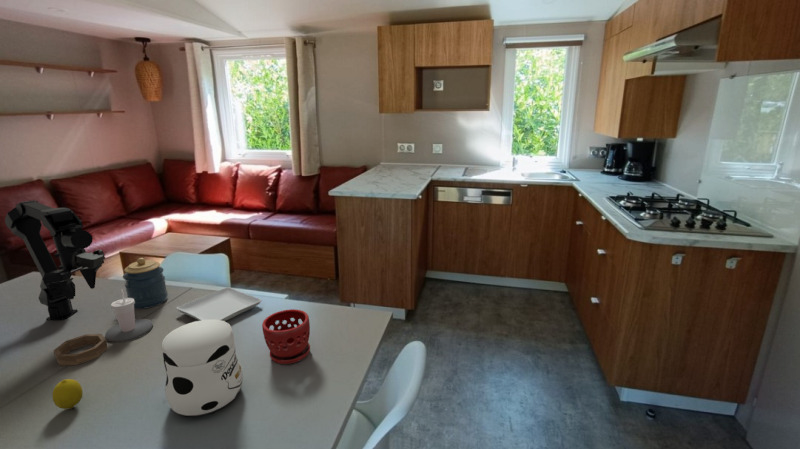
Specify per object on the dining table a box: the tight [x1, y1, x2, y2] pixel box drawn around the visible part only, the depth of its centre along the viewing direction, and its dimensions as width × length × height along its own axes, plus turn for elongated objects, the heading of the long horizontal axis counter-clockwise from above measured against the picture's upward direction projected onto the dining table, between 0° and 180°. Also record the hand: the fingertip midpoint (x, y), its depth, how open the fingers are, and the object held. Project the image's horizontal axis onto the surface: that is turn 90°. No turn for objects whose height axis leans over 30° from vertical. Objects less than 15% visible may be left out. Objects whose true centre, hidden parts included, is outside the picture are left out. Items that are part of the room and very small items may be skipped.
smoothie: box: [110, 288, 136, 332], centre depth 130 cm, size 6×6×14 cm
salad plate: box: [175, 287, 262, 322], centre depth 145 cm, size 21×21×3 cm
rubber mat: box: [104, 318, 154, 343], centre depth 132 cm, size 13×13×1 cm
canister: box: [122, 257, 169, 310], centre depth 150 cm, size 13×13×18 cm
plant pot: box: [261, 308, 311, 365], centre depth 117 cm, size 13×13×12 cm
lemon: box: [52, 378, 83, 410], centre depth 97 cm, size 6×6×8 cm
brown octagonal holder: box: [53, 333, 109, 367], centre depth 120 cm, size 12×12×3 cm
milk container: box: [161, 319, 244, 417], centre depth 99 cm, size 17×17×18 cm
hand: (82, 293), depth 131 cm, fingers open, 9 cm apart
